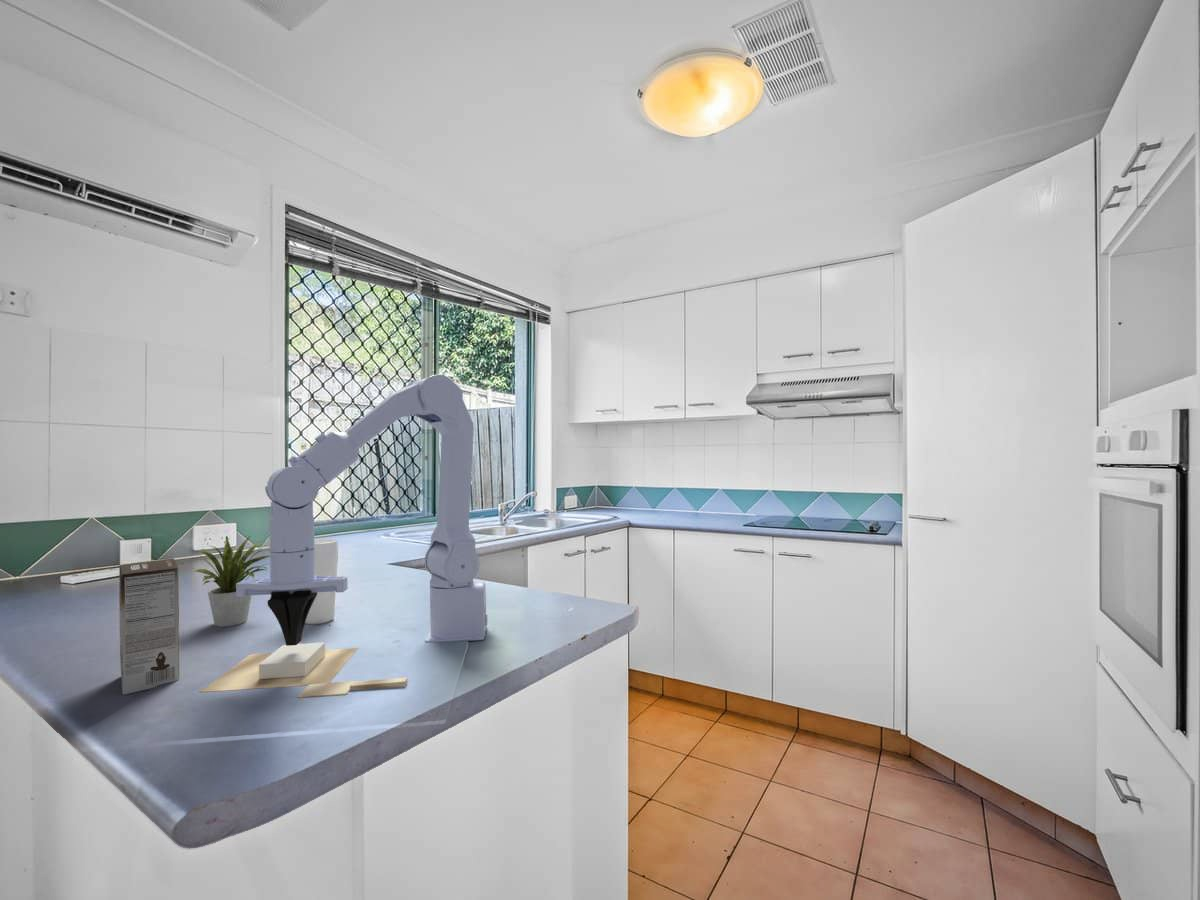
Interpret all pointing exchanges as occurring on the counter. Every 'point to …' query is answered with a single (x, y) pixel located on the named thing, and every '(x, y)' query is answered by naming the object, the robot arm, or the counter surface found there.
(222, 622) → the house plant
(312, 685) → the beech spatula
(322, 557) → the drinking glass
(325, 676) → the bamboo mat
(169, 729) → the counter surface
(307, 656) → the white block
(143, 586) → the coffee box
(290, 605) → the robot arm
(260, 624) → the counter surface
